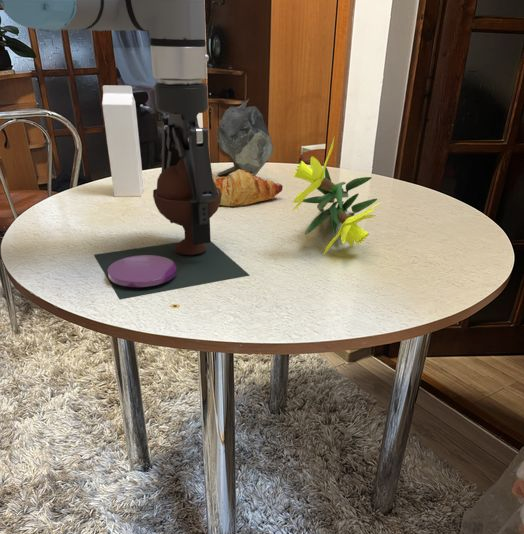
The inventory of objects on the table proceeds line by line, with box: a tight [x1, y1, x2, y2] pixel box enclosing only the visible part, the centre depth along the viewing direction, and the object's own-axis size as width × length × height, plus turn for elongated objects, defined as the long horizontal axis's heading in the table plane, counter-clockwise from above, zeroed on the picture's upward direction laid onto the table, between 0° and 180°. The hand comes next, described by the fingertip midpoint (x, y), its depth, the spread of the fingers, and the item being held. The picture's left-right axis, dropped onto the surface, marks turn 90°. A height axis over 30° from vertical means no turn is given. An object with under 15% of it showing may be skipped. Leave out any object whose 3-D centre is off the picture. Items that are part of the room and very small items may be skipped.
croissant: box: [213, 169, 283, 207], centre depth 112 cm, size 21×10×8 cm, turn 106°
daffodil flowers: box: [289, 135, 383, 257], centre depth 91 cm, size 17×15×35 cm
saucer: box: [108, 255, 177, 287], centre depth 76 cm, size 10×10×2 cm
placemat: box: [93, 241, 251, 300], centre depth 81 cm, size 18×20×1 cm
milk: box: [101, 84, 145, 198], centre depth 111 cm, size 6×6×22 cm
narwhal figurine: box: [216, 98, 275, 177], centre depth 124 cm, size 14×15×18 cm
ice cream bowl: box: [152, 159, 222, 255], centre depth 82 cm, size 11×11×15 cm
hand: (189, 231), depth 84 cm, fingers closed on ice cream bowl, 11 cm apart
